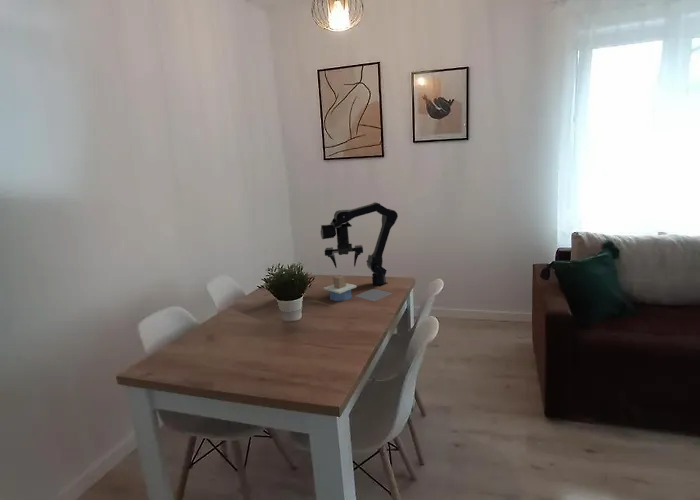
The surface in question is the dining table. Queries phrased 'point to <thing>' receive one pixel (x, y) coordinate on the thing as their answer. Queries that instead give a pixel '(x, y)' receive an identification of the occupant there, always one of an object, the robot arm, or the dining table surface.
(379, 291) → the mat
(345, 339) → the dining table surface
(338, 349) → the dining table surface
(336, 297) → the bowl
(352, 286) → the lid
